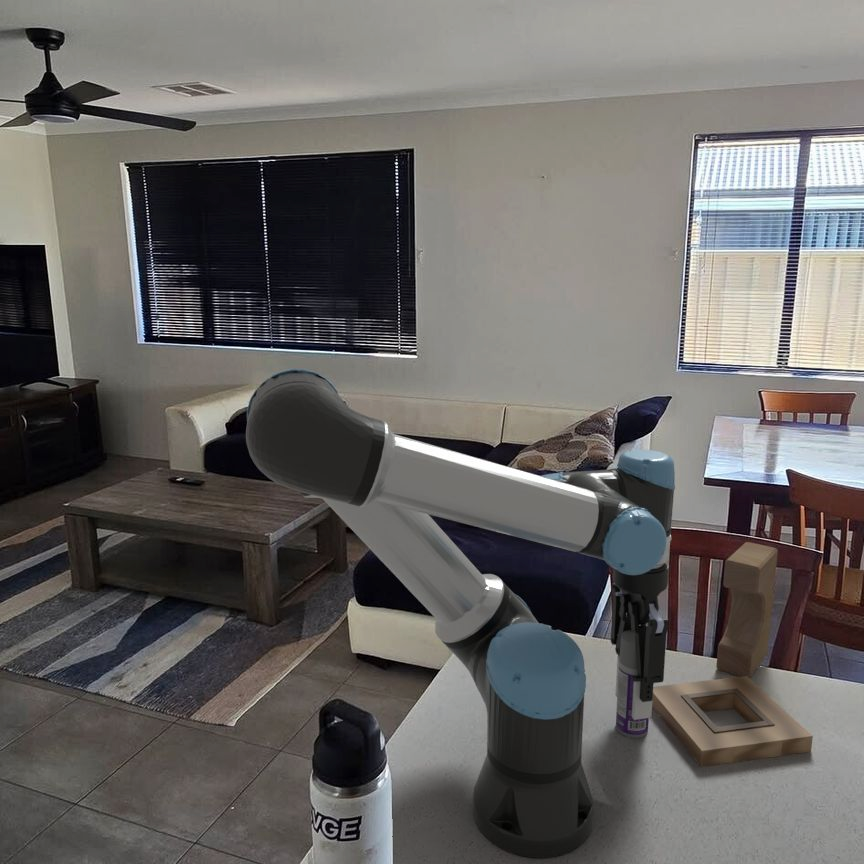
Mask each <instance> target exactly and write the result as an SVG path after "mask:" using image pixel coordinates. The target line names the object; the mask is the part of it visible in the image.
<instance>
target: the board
mask: <svg viewBox="0 0 864 864" xmlns="http://www.w3.org/2000/svg"><path fill="white" fill-rule="evenodd" d="M653 709H654V712H656V714H657V715H658V716H659V718H660V719H661V720H662V722H664V723H665V725H666V726H667V728H669V730H670V731H671V733H672V734H674V736H675V737H676V739H678V740H679V742H680V743H681V744H682V746H683V747H684V749H686V750H687V752H688V753H689V755H690V756H691V757H692V758H693V759H694V760H695V763H697V764H698V766H700V767H703V768H704V767H708V766H709V767H710V766H716V765H724V764H730V763H731V764H733V763H737V762H746V761H752V760H759V759H767V758H774V757H781V756H787V755H788V756H789V755H796V754H801V753H809V752H812V745H813V736H814V735H812V734H811V733H810V732H809V731H808V730H807V729H806V728H805V727H803V726H802V725H801V724H800V723H799V722H798V721H797V720H796V719H795V718H794V717H792V715H790V714H789V713H788V712H787V711H786V710H785V709H784V708H783V707H781V706H780V705H779V704H778V703H777V702H776V701H775V700H774V699H773V698H772V697H771V696H770V695H768V694H767V692H765V691H764V690H763V689H762V688H761V687H759V686H758V685H757V684H756V683H755V682H754V681H753V680H752V679H751V677H750V678H748V677H747V676H742V677H739V676H736V677H727V678H725V677H724V678H717V679H709V680H702V681H700V680H699V681H692V682H691V681H690V682H682V683H676V684H675V683H674V684H668V685H667V684H666V685H656V686H653V700H652V710H653ZM727 709H728V710H730V709H734V710H735V711H736V712H737V713H738V714H739V715H740V716H741V717H742V718H743V719H744V720H745V722H746V723H739V724H731V725H730V724H729V725H723V726H717V725H716V724H715V723H714V722H713V721H712V720H711V718H709V717H708V716H707V715H706V714H705V712H712V711H714V712H715V711H721V710H727Z"/></svg>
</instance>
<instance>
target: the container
mask: <svg viewBox="0 0 864 864" xmlns="http://www.w3.org/2000/svg"><path fill="white" fill-rule="evenodd" d="M632 676H637V660H636V643H635V632H634V631H632V630H627V631H624V632H623V633H622V634H621V645H620V657H619V671H618V691H617V697H616V714H615V715H616V717H615V728H616V730H617V732H618V733H619V734H621V735H623V736H625V737H628V738H633V739H637V738H643V737H645V736H646V735H647V734H648V732H649V719H650V718H644V719H636V720H634V719H633V718H632V702H633V684H634V680H633V677H632Z"/></svg>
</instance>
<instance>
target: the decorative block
mask: <svg viewBox="0 0 864 864" xmlns="http://www.w3.org/2000/svg"><path fill="white" fill-rule="evenodd" d="M778 552H779V551H778V549H777V548H776V547H773V546H768V545H764V544H759V543H754V542H749V541H746V542H744V543H743V544H742V545H741V546H740V547H739V548H738V549H737V550H736V551H734V553H732V554H731V555H730V556H729V557H728V558H727V559H726V560H724V571H723V584H722V585H723V587H724V588H726V589H730V592H731V605H730V612H729V617H728V621H727V624H726V628H725V630H724V633H723V635H722V638H721V639H720V642H719V643H718V645H717V656H716V669H717V670H718V671H720V672H724V673H728V674H730V675H734V676H736V677H742V676H747V677H748V678H750V679H751V677H752V675H753V674H754V672H755V671H756V670H757V668H758V667H759V666H760V664H761V663H762V661H764V659H765V658H766V656H767V655H768V652H769V651H768V650H769V641H770V634H771V633H770V632H771V625H772V615H773V614H772V612H773V603H774V592H775V583H776V582H775V581H776V573H777V572H776V571H777V563H778V555H779V553H778Z"/></svg>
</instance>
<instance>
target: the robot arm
mask: <svg viewBox="0 0 864 864" xmlns="http://www.w3.org/2000/svg"><path fill="white" fill-rule="evenodd" d="M246 422H247V423H246V429H245V442H246V446H247V451H248V453H249V456H250V458H251V459H252V462H253V463H254V465H255V466H256V468H257V469H258V470H259V471H260V472H261V473H262V474H264V476H266V477H267V478H268V479H269V480H271V481H273V482H274V483H276V484H278V485H280V486H283V487H285V488H288V489H290V490H293V491H297V492H298V493H299V494H301V496H302V497H304V498H306V499H310V498H311V499H312V498H313V499H314V498H317V499H318V498H319V499H322V500H323V501H324V502H325V503H326V504H327V506H329V507H330V508H331V509H332V510H333V511H334V512H335V514H336V515H337V516H338V517H339V518H340V519H341V520H342V521H343V522H344V523H345V524H346V525H347V526H348V528H350V529H351V531H353V533H354V534H355V535H356V536H358V538H359V539H360V540H361V541H362V542H363V543H364V544H365V545H366V546H367V547H368V549H370V551H371V552H372V553H373V554H374V555H375V556H376V557H377V558H378V559H379V561H381V563H383V564H384V565H385V567H386V568H388V570H389V571H390V572H391V573H392V574H393V575H394V576H395V577H396V578H397V579H398V581H400V582H401V583H402V584H403V586H404V587H405V588H406V589H407V590H408V591H409V592H410V593H411V594H412V595H413V596H414V597H415V598H416V599H417V600H418V602H420V603H421V605H423V607H425V609H426V610H427V611H428V612H429V613H430V614H431V615H432V616H433V617H434V618H435V623H434V631H435V634H436V637H438V639H439V640H440V641H441V642H442V644H444V645H445V646H446V648H448V649H449V650H450V651H451V652H452V654H453V655H454V656H455V657H456V658H457V659H458V660H459V661H460V662H461V663H462V664H463V666H464V667H465V668H466V670H468V672H469V674H470V675H471V677H472V679H473V681H474V684H475V686H476V688H477V690H478V692H479V695H480V697H481V699H482V701H483V702H484V705H485V707H486V708H485V709H486V715H487V718H486V723H487V725H486V732H487V733H486V745H487V746H486V747H487V748H486V756H485V759H484V762H483V763H482V766H481V768H480V771H479V774H478V777H477V779H476V782H475V785H474V787H473V793H472V815H473V818H474V822H475V824H476V827H477V828H478V830H479V831H480V833H482V834H483V836H484V837H485V838H486V839H487V840H488V841H490V842H491V843H492V844H493V845H495V846H497V847H499V848H500V849H502V850H505V851H506V852H508V853H512V854H514V855H517V856H523V857H529V858H536V859H537V858H538V859H539V858H540V859H542V858H552V857H556V856H561V855H565V854H568V853H570V852H572V851H574V850H576V849H577V848H578V847H579V846H581V845H582V844H584V842H585V841H586V840H587V838H589V836H590V835H591V834H590V833H591V832H592V829H593V827H594V826H593V825H594V810H595V809H594V808H595V806H594V804H595V803H594V798H593V795H592V791H591V788H590V786H589V783H588V779H587V776H586V773H585V770H584V767H583V763H582V750H583V730H584V727H583V725H584V711H585V707H584V706H585V693H586V686H587V675H586V673H585V672H586V670H585V659H584V656H583V653H582V650H581V649H580V647H579V645H578V643H576V641H575V640H574V639H573V638H572V637H571V636H570V635H568V634H567V633H565V631H563V630H561V629H553V628H552V626H551V625H548V624H544V623H539V621H538V620H537V619H536V617H535V616H534V615H533V613H532V611H531V609H530V607H529V606H528V605H527V603H526V602H525V601H524V600H523V599H522V598H521V597H520V596H519V595H517V594H516V593H514V591H512V590H511V588H509V586H508V585H507V584H506V583H505V582H504V581H503V580H502V579H501V578H500V577H499V576H498V575H495V574H493V573H483V574H482V573H481V572H480V571H479V569H477V567H476V566H475V565H474V564H473V563H472V562H471V561H470V559H468V557H467V556H466V555H465V554H464V553H463V552H462V550H461V549H460V548H459V547H458V545H456V544H455V543H454V542H453V540H452V539H451V538H450V537H449V536H448V535H447V534H446V532H444V531H443V529H442V527H440V526H439V525H438V524H437V522H436V521H435V520H434V519H433V518H432V517H431V516H433V517H438V518H440V519H445V520H449V521H453V522H457V523H460V524H463V525H465V524H466V525H469V526H473V527H476V528H477V527H478V528H480V529H485V530H487V531H488V530H489V531H491V532H496V533H500V534H505V535H508V536H512V537H516V538H520V539H524V540H527V541H531V542H536V543H539V544H542V545H547V546H550V547H551V546H552V547H555V548H559V549H563V550H565V551H571V552H574V553H578V554H581V555H584V556H585V555H586V556H588V557H593V558H597V559H599V560H603V561H605V563H606V564H607V565H608V566H609V567H611V568H612V569H613V574H612V575H613V576H612V581H613V582H612V583H611V591H612V609H611V610H612V611H611V623H610V625H611V626H610V627H611V629H610V643H611V645H612V646H615V648H614V649H615V653H616V655H617V658H616V659H617V661H616V680H615V681H616V682H615V683H616V684H615V696H616V698H617V691H618V671H619V657H620V645H621V634H622V633H623V632H624V631H627V630H632V631H634V632H635V643H636V660H637V676H632V677H633V680H634V684H633V702H632V718H633V719H634V720H636V719H644V718H649V719H651V718H652V713H653V707H652V700H653V687H654V684H658V683H663V682H664V676H665V664H666V663H665V662H666V660H665V659H666V647H667V633H668V630H669V627H670V622H669V621H670V620H669V619H668V618H667V617H661V615H660V613H659V609H660V607H659V599H658V596H659V595H660V594H661V593H663V592H664V591H665V590H666V589H667V588H668V585H669V570H670V569H669V568H670V565H669V563H668V561H669V560H670V545H671V541H672V539H673V538H672V535H671V533H672V522H673V521H672V518H673V507H674V494H675V489H676V485H675V483H676V482H675V481H676V480H675V473H676V471H675V462H674V459H673V458H672V457H671V456H670V455H669V454H666V453H664V452H663V451H658V450H653V449H652V450H651V449H630V450H627V451H624V452H622V453H620V455H619V457H618V460H617V461H618V462H617V464H616V465H617V466H616V467H615V468H609V469H600V470H583V471H568V472H566V471H565V472H563V471H558V472H556V473H555V472H554V473H547V474H542V475H538V474H535V473H532V472H527V471H525V470H521V469H518V468H513V467H511V466H507V465H503V464H499V463H497V462H493V461H489V460H487V459H483V458H478V457H475V456H471V455H468V454H465V453H461V452H458V451H454V450H451V449H448V448H444V447H441V446H437V445H433V444H430V443H427V442H424V441H420V440H416V439H412V438H409V437H406V436H402V435H400V434H395V433H393V432H392V430H391V428H390V427H389V425H388V423H387V422H386V421H383V420H380V419H376V418H374V417H370V416H368V415H365V414H362V413H360V412H358V411H356V410H354V409H353V408H350V406H348V404H346V402H345V401H344V400H343V398H342V397H341V396H340V394H339V393H338V390H337V389H336V387H335V385H333V383H332V382H331V381H330V380H329V379H327V378H326V377H324V376H322V375H321V374H320V373H317V372H314V371H312V370H307V369H304V368H290V369H289V368H288V369H285V370H281V371H277V372H276V373H274V374H272V375H270V376H269V377H268V378H266V379H264V381H262V383H261V384H260V385H259V386H258V387H257V388H256V389H255V391H254V392H253V394H252V395H251V397H250V399H249V401H248V406H247V408H246Z"/></svg>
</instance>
